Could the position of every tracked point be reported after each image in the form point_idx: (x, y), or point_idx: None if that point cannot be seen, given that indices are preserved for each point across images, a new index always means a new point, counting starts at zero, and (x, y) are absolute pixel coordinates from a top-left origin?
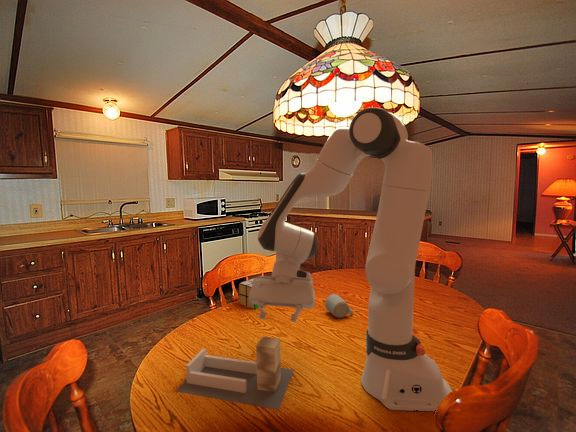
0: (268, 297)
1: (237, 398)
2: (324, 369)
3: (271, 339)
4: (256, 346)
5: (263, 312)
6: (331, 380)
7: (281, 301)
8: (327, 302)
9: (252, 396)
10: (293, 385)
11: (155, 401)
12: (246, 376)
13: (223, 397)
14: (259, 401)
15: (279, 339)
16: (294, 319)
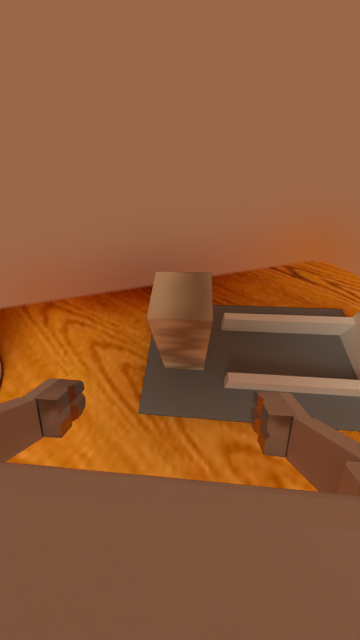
0: (354, 560)
1: (228, 311)
2: None
3: (175, 308)
4: (210, 273)
5: (276, 410)
6: None
7: (96, 471)
8: None
9: None
10: (139, 363)
11: (350, 291)
12: (240, 367)
13: (251, 310)
14: None
15: (148, 312)
16: (57, 379)
